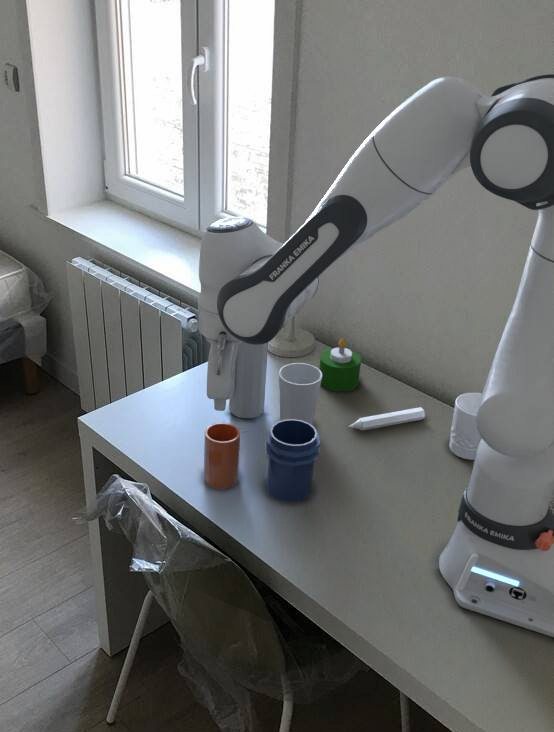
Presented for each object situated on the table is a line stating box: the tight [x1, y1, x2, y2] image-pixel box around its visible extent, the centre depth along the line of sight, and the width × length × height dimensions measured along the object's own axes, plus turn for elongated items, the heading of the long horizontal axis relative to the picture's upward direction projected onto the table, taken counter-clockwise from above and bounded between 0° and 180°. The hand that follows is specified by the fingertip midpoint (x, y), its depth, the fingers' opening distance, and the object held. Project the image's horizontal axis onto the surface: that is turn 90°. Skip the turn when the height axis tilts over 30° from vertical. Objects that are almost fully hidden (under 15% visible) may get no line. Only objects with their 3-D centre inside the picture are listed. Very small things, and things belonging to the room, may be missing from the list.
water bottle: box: [228, 342, 269, 419], centre depth 162 cm, size 9×8×25 cm
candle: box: [318, 338, 362, 392], centre depth 175 cm, size 8×8×10 cm
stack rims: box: [265, 430, 321, 466], centre depth 144 cm, size 9×9×2 cm
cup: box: [278, 362, 322, 426], centre depth 161 cm, size 8×8×12 cm
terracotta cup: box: [203, 422, 241, 490], centre depth 149 cm, size 6×6×10 cm
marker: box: [346, 406, 426, 432], centre depth 164 cm, size 3×2×16 cm
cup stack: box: [265, 419, 319, 503], centre depth 146 cm, size 8×8×12 cm
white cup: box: [448, 392, 482, 461], centre depth 154 cm, size 8×8×10 cm
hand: (222, 392), depth 142 cm, fingers open, 8 cm apart
